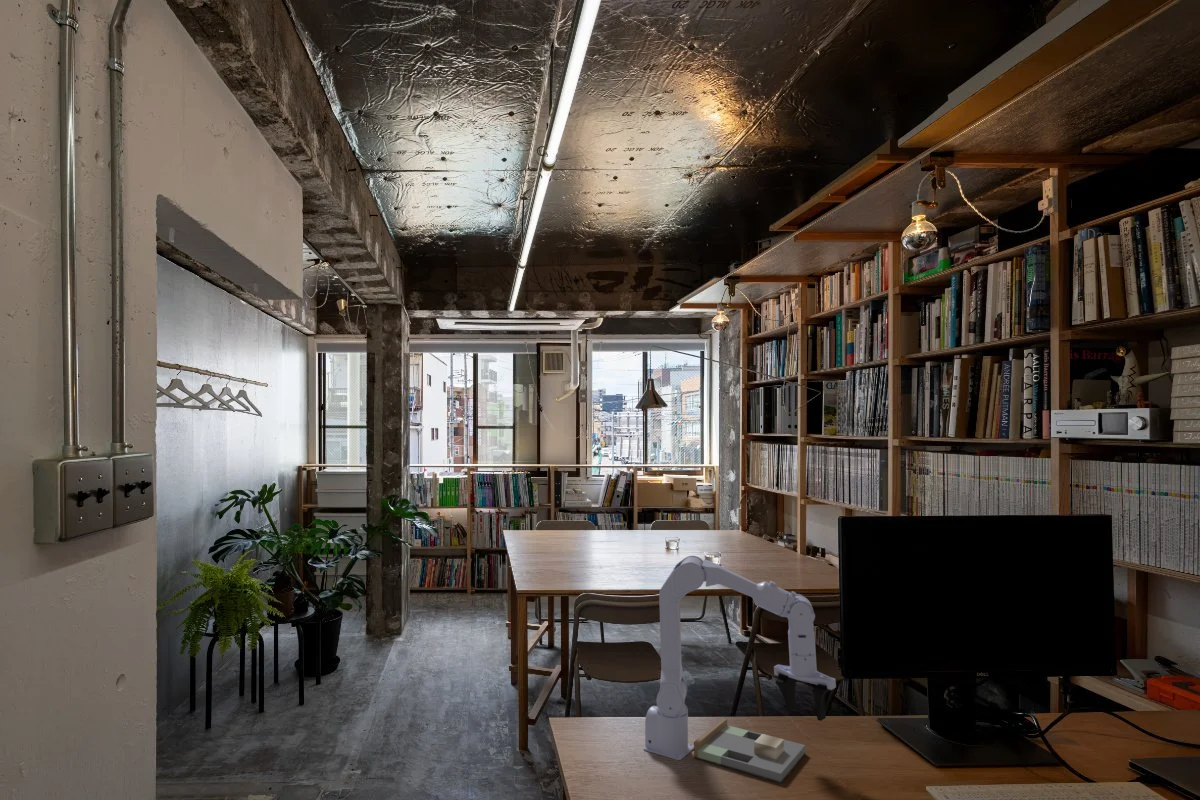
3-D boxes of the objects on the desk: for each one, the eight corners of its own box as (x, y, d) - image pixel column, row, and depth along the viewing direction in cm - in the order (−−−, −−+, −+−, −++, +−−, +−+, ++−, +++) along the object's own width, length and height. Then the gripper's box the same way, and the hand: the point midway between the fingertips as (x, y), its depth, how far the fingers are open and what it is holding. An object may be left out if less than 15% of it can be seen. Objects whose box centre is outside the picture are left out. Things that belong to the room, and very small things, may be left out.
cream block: (754, 753, 154) (754, 741, 155) (762, 745, 159) (762, 733, 159) (776, 759, 152) (776, 747, 152) (783, 750, 156) (783, 739, 156)
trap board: (693, 758, 157) (693, 742, 157) (723, 732, 170) (723, 717, 170) (780, 783, 145) (780, 766, 146) (805, 754, 159) (805, 738, 159)
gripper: (841, 654, 153) (845, 717, 152) (785, 642, 164) (788, 701, 163) (823, 662, 149) (828, 727, 148) (767, 649, 159) (770, 709, 159)
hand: (806, 714), depth 155 cm, fingers open, 7 cm apart
